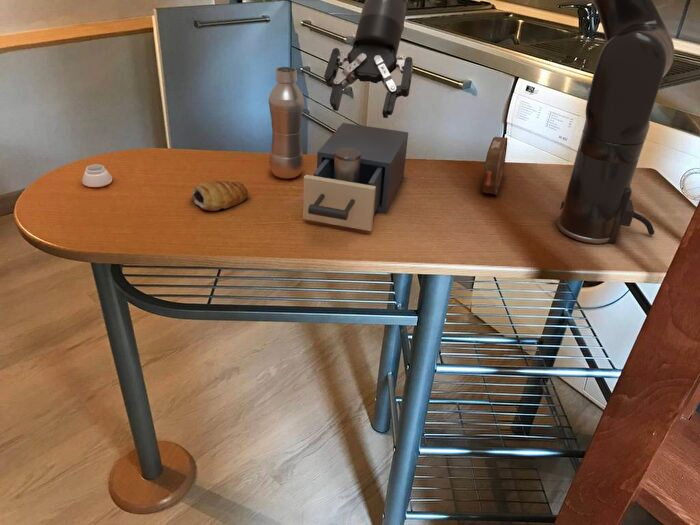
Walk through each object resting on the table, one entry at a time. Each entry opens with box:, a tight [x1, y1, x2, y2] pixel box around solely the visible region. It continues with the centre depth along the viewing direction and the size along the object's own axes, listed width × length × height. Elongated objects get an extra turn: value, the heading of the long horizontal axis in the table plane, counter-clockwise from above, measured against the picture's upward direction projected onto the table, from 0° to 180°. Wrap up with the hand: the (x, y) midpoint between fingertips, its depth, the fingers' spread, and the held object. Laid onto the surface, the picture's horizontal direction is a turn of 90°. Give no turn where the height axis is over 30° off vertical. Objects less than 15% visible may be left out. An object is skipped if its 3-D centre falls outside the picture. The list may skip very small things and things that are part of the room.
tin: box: [481, 136, 508, 196], centre depth 118 cm, size 15×3×8 cm, turn 161°
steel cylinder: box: [334, 148, 361, 183], centre depth 102 cm, size 4×4×10 cm
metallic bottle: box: [268, 66, 305, 179], centre depth 113 cm, size 6×7×20 cm
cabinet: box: [316, 122, 409, 214], centre depth 113 cm, size 16×13×9 cm
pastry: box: [191, 179, 249, 212], centre depth 107 cm, size 9×7×4 cm
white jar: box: [81, 163, 113, 188], centre depth 110 cm, size 5×3×5 cm
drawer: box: [302, 158, 385, 232], centre depth 102 cm, size 20×12×8 cm, turn 165°
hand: (359, 112), depth 102 cm, fingers open, 8 cm apart
